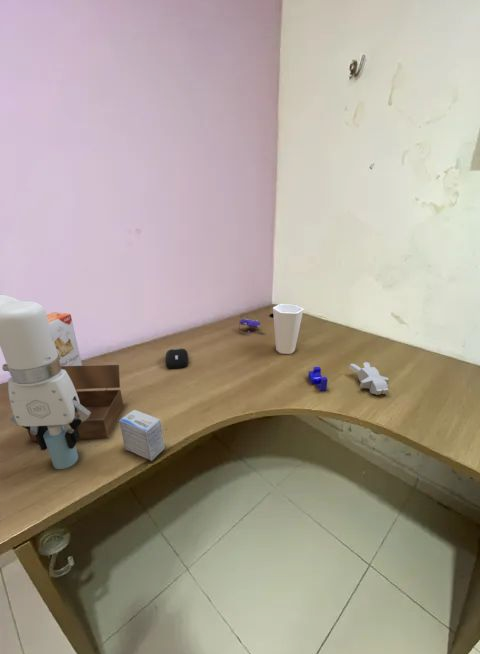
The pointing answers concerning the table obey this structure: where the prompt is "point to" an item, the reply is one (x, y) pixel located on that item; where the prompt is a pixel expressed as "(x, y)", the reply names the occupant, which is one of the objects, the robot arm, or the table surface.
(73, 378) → the flap
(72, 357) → the cracker box
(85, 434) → the wooden box
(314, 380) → the cable holder
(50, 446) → the bottle
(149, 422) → the medicine box
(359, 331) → the table surface
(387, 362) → the table surface
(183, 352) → the computer mouse
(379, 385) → the bunny figurine
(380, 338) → the table surface
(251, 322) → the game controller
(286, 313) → the cup
